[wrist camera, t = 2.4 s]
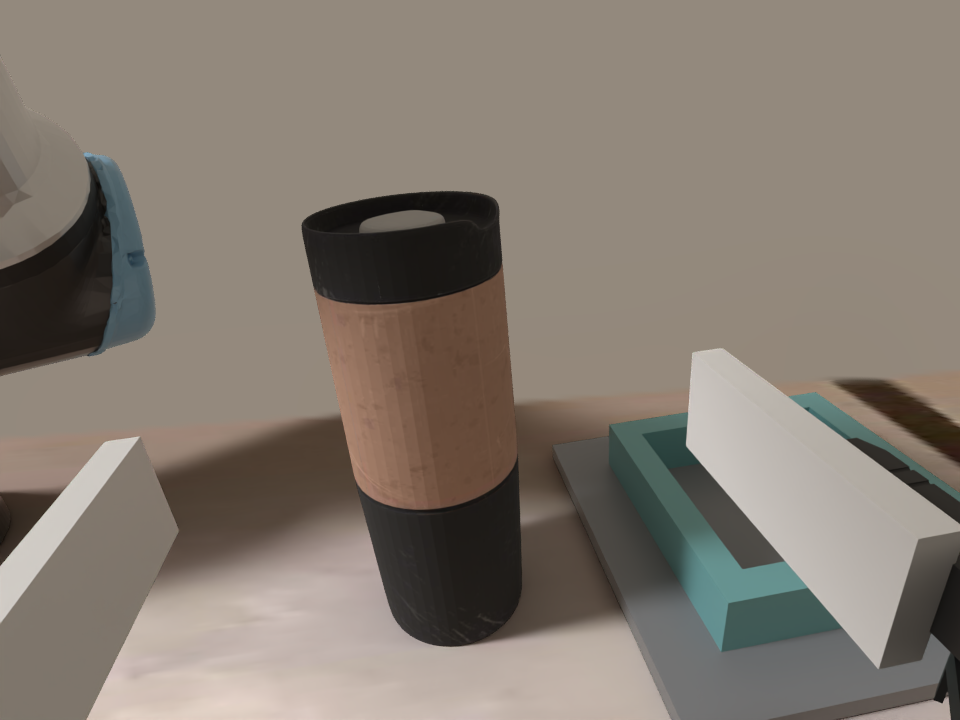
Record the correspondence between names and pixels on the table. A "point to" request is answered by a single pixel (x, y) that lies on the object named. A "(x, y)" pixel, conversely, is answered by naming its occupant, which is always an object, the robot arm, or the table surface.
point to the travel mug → (426, 401)
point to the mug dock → (724, 584)
